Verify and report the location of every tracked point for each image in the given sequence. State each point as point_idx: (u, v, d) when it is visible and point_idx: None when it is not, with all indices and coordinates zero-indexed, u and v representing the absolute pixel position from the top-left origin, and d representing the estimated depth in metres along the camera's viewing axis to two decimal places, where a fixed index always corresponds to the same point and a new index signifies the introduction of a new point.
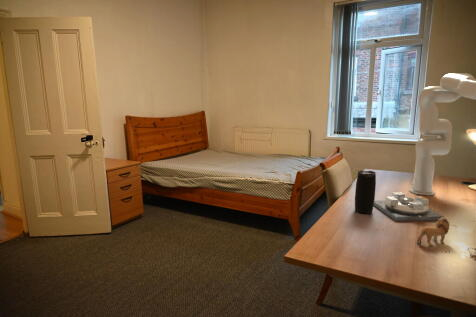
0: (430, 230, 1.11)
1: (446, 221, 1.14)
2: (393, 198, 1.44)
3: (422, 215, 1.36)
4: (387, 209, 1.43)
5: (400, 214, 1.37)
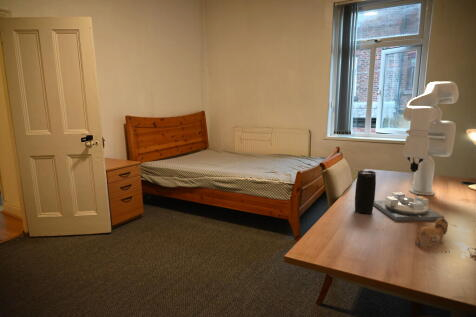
0: (429, 231, 1.11)
1: (445, 221, 1.14)
2: (393, 198, 1.44)
3: (422, 215, 1.36)
4: (387, 209, 1.43)
5: (400, 214, 1.37)
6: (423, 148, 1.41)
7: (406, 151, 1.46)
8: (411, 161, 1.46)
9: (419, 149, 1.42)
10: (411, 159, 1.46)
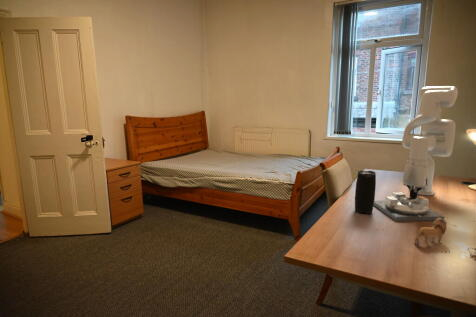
0: (427, 231, 1.11)
1: (443, 222, 1.13)
2: (393, 198, 1.44)
3: (422, 215, 1.36)
4: (387, 209, 1.43)
5: (400, 214, 1.37)
6: (420, 177, 1.43)
7: (405, 179, 1.49)
8: (410, 189, 1.48)
9: (416, 178, 1.44)
10: (410, 187, 1.48)
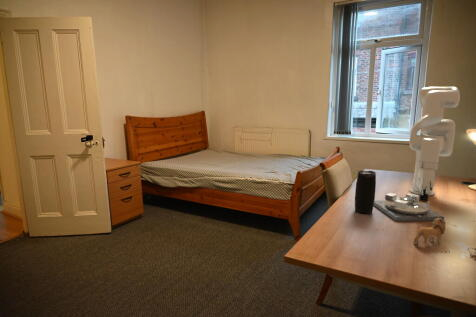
0: (427, 231, 1.11)
1: (442, 222, 1.13)
2: (391, 194, 1.49)
3: (422, 215, 1.36)
4: (387, 209, 1.43)
5: (400, 214, 1.37)
6: (421, 180, 1.39)
7: (417, 180, 1.46)
8: (420, 192, 1.44)
9: (420, 180, 1.40)
10: (420, 190, 1.44)
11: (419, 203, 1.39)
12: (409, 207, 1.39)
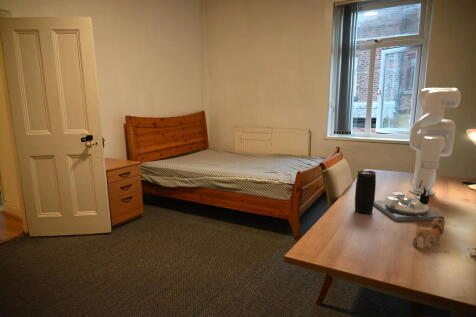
0: (426, 231, 1.10)
1: (441, 222, 1.13)
2: (397, 193, 1.51)
3: (422, 215, 1.36)
4: (387, 209, 1.43)
5: (400, 214, 1.37)
6: None
7: None
8: None
9: None
10: None
11: (410, 203, 1.38)
12: (399, 205, 1.41)
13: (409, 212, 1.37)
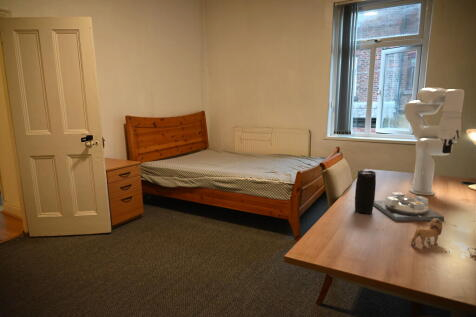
0: (424, 232, 1.10)
1: (439, 222, 1.13)
2: (397, 193, 1.51)
3: (422, 215, 1.36)
4: (387, 209, 1.43)
5: (400, 214, 1.37)
6: (449, 129, 1.45)
7: (438, 132, 1.52)
8: (443, 142, 1.51)
9: (446, 130, 1.46)
10: (443, 140, 1.51)
11: (410, 203, 1.38)
12: (399, 205, 1.41)
13: (409, 212, 1.37)
